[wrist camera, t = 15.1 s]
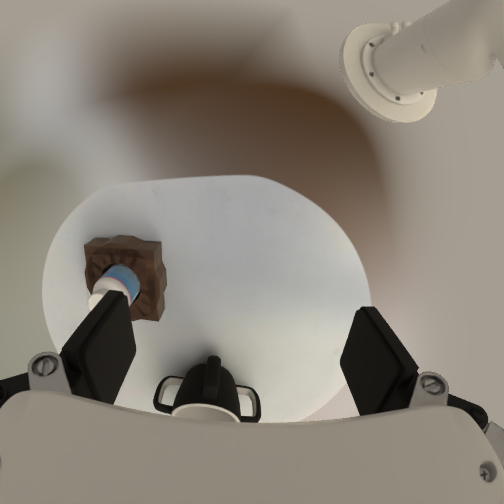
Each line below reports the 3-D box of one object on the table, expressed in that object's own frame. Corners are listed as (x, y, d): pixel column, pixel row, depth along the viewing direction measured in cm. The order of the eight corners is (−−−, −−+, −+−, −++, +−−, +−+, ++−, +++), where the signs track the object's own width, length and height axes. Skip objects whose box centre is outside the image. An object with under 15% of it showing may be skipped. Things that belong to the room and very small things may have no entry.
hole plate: (92, 233, 40) (80, 241, 36) (165, 238, 40) (157, 246, 37) (101, 303, 44) (92, 314, 40) (168, 312, 45) (163, 325, 41)
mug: (199, 407, 54) (194, 449, 43) (155, 363, 49) (140, 407, 38) (264, 387, 52) (268, 433, 41) (224, 336, 47) (220, 386, 36)
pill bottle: (116, 252, 41) (83, 282, 30) (149, 263, 42) (123, 298, 31) (112, 283, 43) (82, 318, 32) (143, 294, 44) (119, 333, 33)
